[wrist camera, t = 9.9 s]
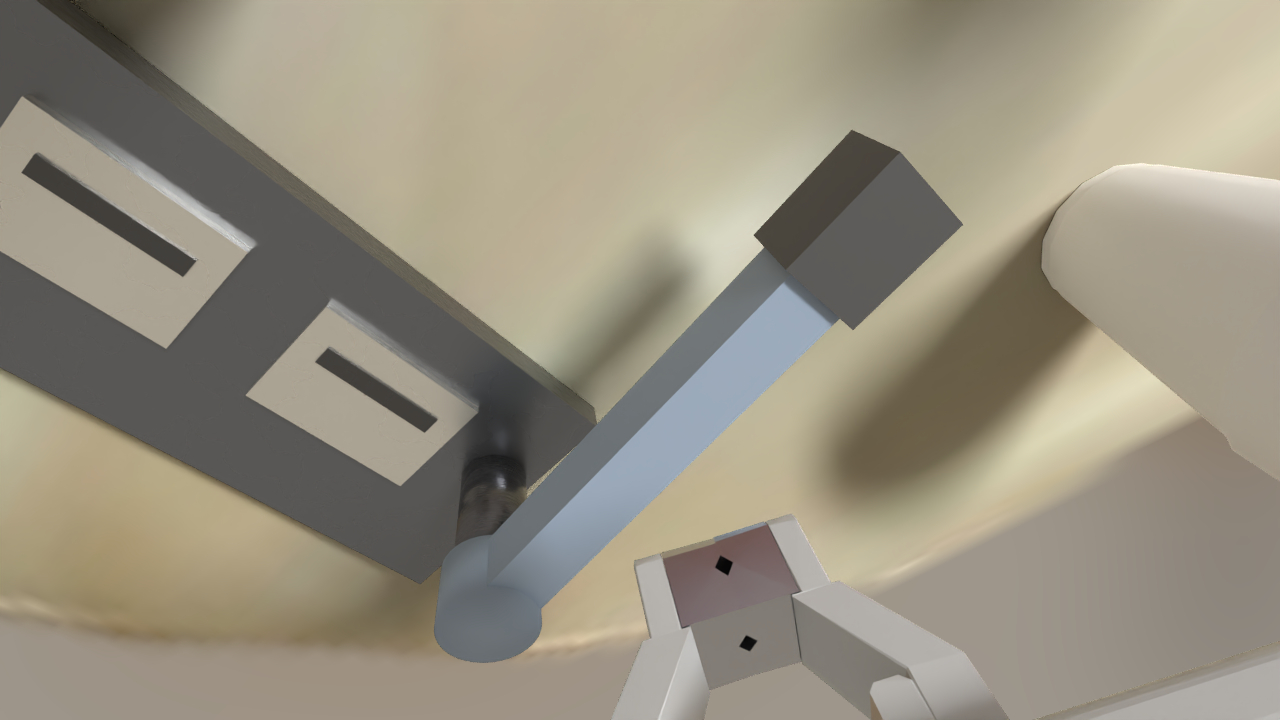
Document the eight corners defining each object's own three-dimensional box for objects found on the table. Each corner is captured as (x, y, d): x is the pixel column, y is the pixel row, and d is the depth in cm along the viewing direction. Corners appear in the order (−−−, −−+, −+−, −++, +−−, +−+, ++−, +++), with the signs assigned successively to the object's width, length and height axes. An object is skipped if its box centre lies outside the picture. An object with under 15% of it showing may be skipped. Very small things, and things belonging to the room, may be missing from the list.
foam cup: (1027, 357, 33) (1285, 550, 22) (988, 201, 29) (1289, 345, 18) (1212, 261, 32) (1580, 413, 21) (1202, 82, 28) (1669, 156, 16)
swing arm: (501, 613, 27) (500, 676, 24) (421, 579, 25) (412, 644, 23) (915, 201, 21) (968, 231, 18) (845, 123, 19) (893, 144, 17)
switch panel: (-246, 201, 21) (-497, 275, 16) (-68, -106, 19) (-302, -138, 13) (423, 560, 33) (407, 671, 28) (593, 407, 31) (611, 499, 25)
